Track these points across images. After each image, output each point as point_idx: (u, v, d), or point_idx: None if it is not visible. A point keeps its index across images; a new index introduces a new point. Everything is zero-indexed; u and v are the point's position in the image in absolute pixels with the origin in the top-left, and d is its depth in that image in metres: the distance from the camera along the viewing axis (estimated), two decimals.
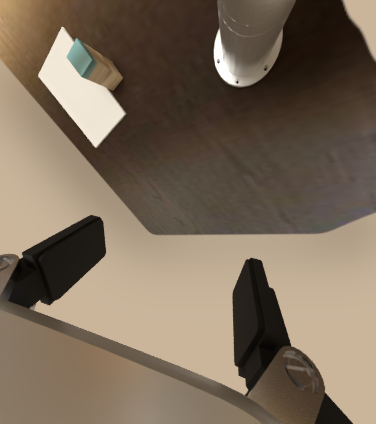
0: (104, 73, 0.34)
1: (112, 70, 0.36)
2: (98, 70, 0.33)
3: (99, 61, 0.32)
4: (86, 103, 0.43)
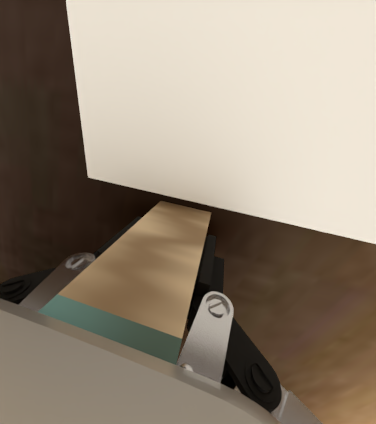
0: None
1: None
2: None
3: None
4: (223, 68, 0.08)
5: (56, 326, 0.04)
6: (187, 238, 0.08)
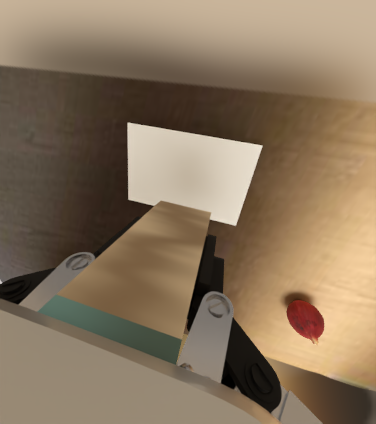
0: None
1: None
2: None
3: None
4: (172, 172, 0.28)
5: (56, 326, 0.04)
6: (186, 238, 0.08)
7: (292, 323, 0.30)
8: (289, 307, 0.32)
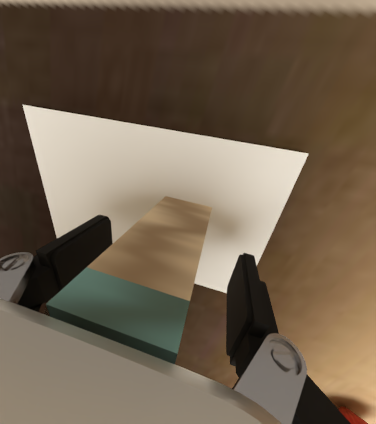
0: None
1: None
2: None
3: None
4: (121, 202, 0.15)
5: (56, 326, 0.04)
6: (190, 228, 0.10)
7: None
8: None
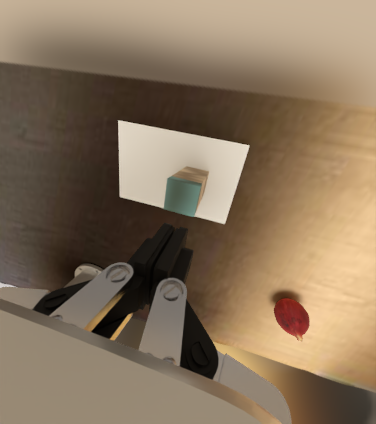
0: None
1: None
2: None
3: None
4: (162, 170, 0.29)
5: (56, 326, 0.04)
6: (200, 174, 0.24)
7: (278, 320, 0.31)
8: (276, 305, 0.33)
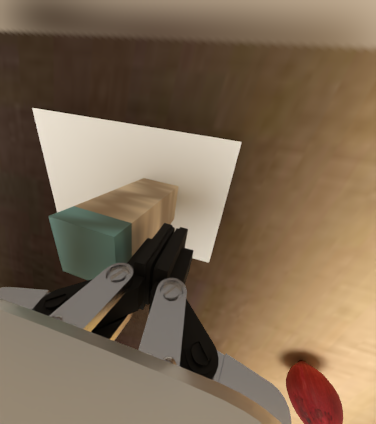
0: None
1: None
2: None
3: None
4: (110, 184, 0.19)
5: (56, 326, 0.04)
6: (152, 195, 0.13)
7: (294, 406, 0.21)
8: (290, 377, 0.22)
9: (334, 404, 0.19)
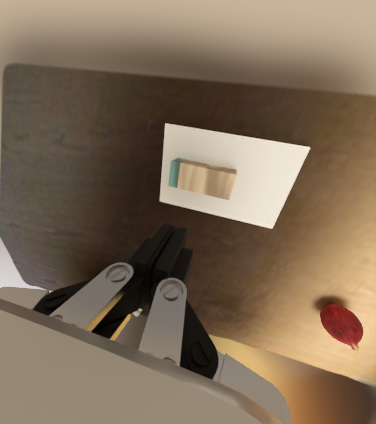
0: None
1: None
2: None
3: None
4: None
5: (56, 326, 0.04)
6: (210, 168, 0.24)
7: (328, 328, 0.30)
8: (323, 311, 0.31)
9: (357, 323, 0.28)
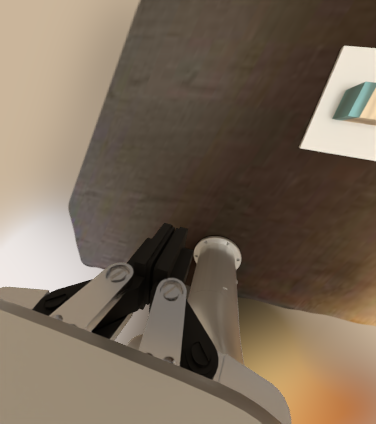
0: None
1: None
2: None
3: (354, 121, 0.25)
4: None
5: (56, 326, 0.04)
6: None
7: None
8: None
9: None
